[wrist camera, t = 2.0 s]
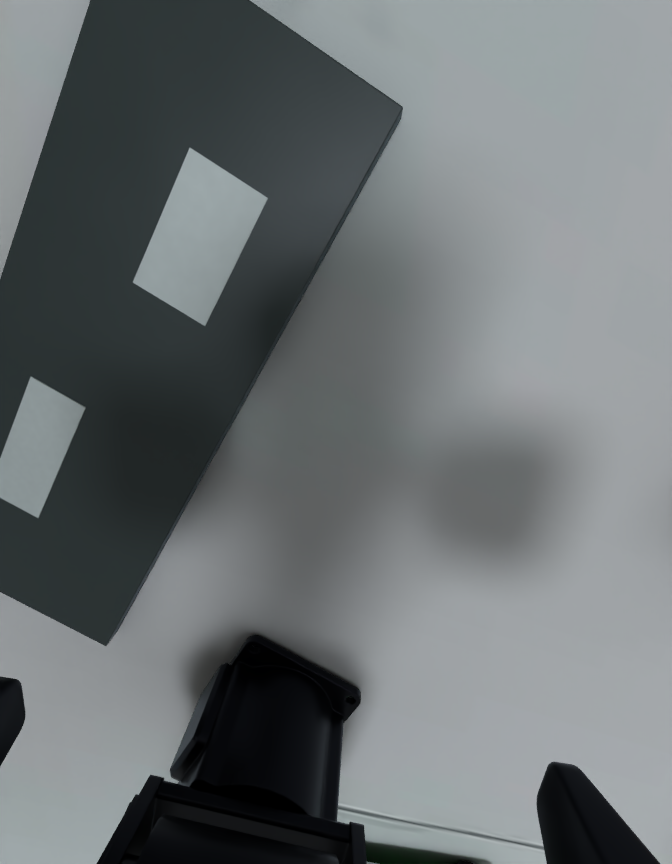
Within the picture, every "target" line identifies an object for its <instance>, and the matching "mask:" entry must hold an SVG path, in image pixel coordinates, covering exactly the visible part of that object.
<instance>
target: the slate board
mask: <svg viewBox="0 0 672 864" xmlns="http://www.w3.org/2000/svg"><path fill="white" fill-rule="evenodd" d="M402 110H403V107H402V106H401V105H399V104H398V103H396V102H395V101H394V100H392V99H391V98H389V97H388V96H386V95H385V94H383V93H382V92H381V91H379V90H378V89H376V88H375V87H373V86H372V85H370V84H369V83H368V82H366V81H365V80H363V79H362V78H360V77H359V76H358V75H356V74H355V73H353V72H352V71H350V70H349V69H347V68H346V67H345V66H343V65H342V64H340V63H339V62H337V61H336V60H334V59H333V58H332V57H330V56H329V55H327V54H326V53H324V52H323V51H322V50H320V49H319V48H317V47H316V46H314V45H313V44H311V43H310V42H309V41H307V40H306V39H304V38H303V37H301V36H300V35H299V34H297V33H296V32H294V31H293V30H291V29H290V28H288V27H287V26H286V25H284V24H283V23H281V22H280V21H278V20H277V19H275V18H274V17H273V16H271V15H270V14H268V13H267V12H265V11H264V10H263V9H261V8H260V7H258V6H257V5H255V4H254V3H252V2H251V1H250V0H90V4H89V7H88V10H87V13H86V16H85V19H84V22H83V25H82V28H81V31H80V34H79V38H78V41H77V44H76V47H75V50H74V53H73V56H72V59H71V62H70V65H69V68H68V72H67V75H66V78H65V81H64V84H63V87H62V90H61V93H60V96H59V99H58V102H57V106H56V109H55V112H54V115H53V118H52V121H51V124H50V127H49V130H48V133H47V136H46V139H45V143H44V146H43V149H42V152H41V155H40V158H39V161H38V164H37V167H36V170H35V173H34V177H33V180H32V183H31V186H30V189H29V192H28V195H27V198H26V201H25V204H24V207H23V211H22V214H21V217H20V220H19V223H18V226H17V229H16V232H15V235H14V238H13V241H12V245H11V248H10V251H9V254H8V257H7V260H6V263H5V266H4V269H3V272H2V275H1V279H0V592H2V593H4V594H5V595H7V596H9V597H11V598H13V599H15V600H17V601H19V602H21V603H23V604H25V605H27V606H29V607H31V608H33V609H35V610H37V611H39V612H41V613H42V614H44V615H46V616H48V617H50V618H52V619H54V620H56V621H58V622H60V623H62V624H64V625H66V626H68V627H70V628H72V629H74V630H76V631H78V632H79V633H81V634H83V635H85V636H87V637H89V638H91V639H93V640H95V641H97V642H99V643H101V644H103V645H105V646H107V645H108V643H109V642H110V640H111V639H112V638H113V636H114V635H115V634H116V632H117V630H118V629H119V627H120V625H121V623H122V621H123V620H124V618H125V616H126V614H127V612H128V611H129V609H130V607H131V605H132V603H133V602H134V600H135V598H136V596H137V594H138V593H139V591H140V589H141V587H142V585H143V583H144V582H145V580H146V578H147V576H148V574H149V573H150V571H151V569H152V567H153V565H154V564H155V562H156V560H157V558H158V556H159V555H160V553H161V551H162V549H163V547H164V546H165V544H166V542H167V540H168V538H169V537H170V535H171V533H172V531H173V529H174V528H175V526H176V524H177V522H178V520H179V518H180V517H181V515H182V513H183V511H184V509H185V508H186V506H187V504H188V502H189V500H190V499H191V497H192V495H193V493H194V491H195V490H196V488H197V486H198V484H199V482H200V481H201V479H202V477H203V475H204V473H205V472H206V470H207V468H208V466H209V464H210V462H211V461H212V459H213V457H214V455H215V453H216V452H217V450H218V448H219V446H220V444H221V443H222V441H223V439H224V437H225V435H226V434H227V432H228V430H229V428H230V426H231V425H232V423H233V421H234V419H235V417H236V416H237V414H238V412H239V410H240V408H241V407H242V405H243V403H244V401H245V399H246V397H247V396H248V394H249V392H250V390H251V388H252V387H253V385H254V383H255V381H256V379H257V378H258V376H259V374H260V372H261V370H262V369H263V367H264V365H265V363H266V361H267V360H268V358H269V356H270V354H271V352H272V351H273V349H274V347H275V345H276V343H277V341H278V340H279V338H280V336H281V334H282V332H283V331H284V329H285V327H286V325H287V323H288V322H289V320H290V318H291V316H292V314H293V313H294V311H295V309H296V307H297V305H298V304H299V302H300V300H301V298H302V296H303V295H304V293H305V291H306V289H307V287H308V285H309V284H310V282H311V280H312V278H313V276H314V275H315V273H316V271H317V269H318V267H319V266H320V264H321V262H322V260H323V258H324V257H325V255H326V253H327V251H328V249H329V248H330V246H331V244H332V242H333V240H334V239H335V237H336V235H337V233H338V231H339V230H340V228H341V226H342V224H343V222H344V220H345V219H346V217H347V215H348V213H349V211H350V210H351V208H352V206H353V204H354V202H355V201H356V199H357V197H358V195H359V193H360V192H361V190H362V188H363V186H364V184H365V183H366V181H367V179H368V177H369V175H370V174H371V172H372V170H373V168H374V166H375V164H376V163H377V161H378V159H379V157H380V155H381V154H382V152H383V150H384V148H385V146H386V145H387V143H388V141H389V139H390V137H391V136H392V134H393V132H394V130H395V128H396V127H397V125H398V123H399V121H400V119H401V115H402Z"/></svg>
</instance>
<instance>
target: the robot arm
mask: <svg viewBox="0 0 672 864" xmlns="http://www.w3.org/2000/svg"><path fill="white" fill-rule="evenodd" d="M253 645H255V646H258V647H254V646H253ZM350 697H352V698H350ZM360 700H361V692H360V691H359V689H357V688H356V687H354V686H352V685H351V684H349V683H347V682H345V681H343V680H341V679H339V678H338V677H336V676H334V675H332V674H330V673H328V672H326V671H324V670H323V669H321V668H319V667H317V666H315V665H313V664H311V663H310V662H308V661H306V660H304V659H302V658H300V657H298V656H296V655H295V654H293V653H291V652H289V651H287V650H285V649H283V648H282V647H280V646H278V645H276V644H274V643H272V642H270V641H268V640H267V639H265V638H263V637H261V636H258V635H253V636H250V637H249V638H248V639H247V640H246V642H245V643H244V645H243V646H242V648H241V649H240V650H239V652H238V653H237V655H236V656H235V658H234V659H233V661H232V662H231V663H230V664H228V663H225V664H222V665H221V666H220V667H219V669H218V670H217V672H216V673H215V675H214V676H213V678H212V679H211V681H210V682H209V683H208V685H207V686H206V688H205V689H204V691H203V692H202V694H201V696H200V698H199V700H198V703H197V705H196V708H195V710H194V712H193V715H192V717H191V720H190V722H189V725H188V727H187V729H186V732H185V734H184V737H183V739H182V741H181V744H180V746H179V749H178V751H177V753H176V756H175V758H174V761H173V763H172V766H171V768H170V773H171V777H172V778H174V779H176V780H178V781H179V783H178V784H175V783H171V782H167V781H164V778H162V777H158V776H154V775H150V776H149V778H148V780H147V781H146V783H145V785H144V787H143V789H142V790H141V792H140V794H139V795H135V797H134V799H133V800H132V802H131V803H130V804H129V806H128V808H127V810H126V812H125V814H124V816H123V818H122V820H121V822H120V823H119V825H118V827H117V829H116V830H115V832H114V834H113V836H112V838H111V839H110V841H109V843H108V845H107V846H106V848H105V850H104V852H103V853H102V855H101V857H100V859H99V861H98V862H97V864H367V860H366V847H365V834H364V825H362V824H358V823H353V822H350V823H349V824H345V823H341V822H337V812H338V797H339V782H340V767H341V751H342V736H343V723H344V722H345V721H346V720H347V719H348V717H349V716H350V715H351V714H352V713H353V712H354V710H355V709H356V708H357V707H358V706H359V704H360ZM24 720H25V706H24V699H23V692H22V686H21V683H20V681H19V680H17V679H12V678H6V677H0V766H1V764H2V762H3V760H4V759H5V757H6V755H7V753H8V752H9V750H10V748H11V746H12V745H13V743H14V741H15V740H16V738H17V736H18V734H19V733H20V731H21V729H22V726H23V724H24ZM537 813H538V818H539V824H540V829H541V834H542V840H543V845H544V850H545V856H546V861H547V864H660V863H659V862H658V861H657V859H656V858H655V857H654V856H653V855H652V853H651V852H650V851H649V850H648V849H647V848H646V846H645V845H644V844H643V843H642V842H641V840H640V839H639V838H638V837H637V836H636V835H635V833H634V832H633V831H632V830H631V829H630V827H629V826H628V825H627V824H626V823H625V822H624V820H623V819H622V818H621V817H620V816H619V814H618V813H617V812H616V811H615V810H614V808H613V807H612V806H611V805H610V804H609V803H608V801H607V800H606V799H605V798H604V797H603V795H602V794H601V793H600V792H599V791H598V790H597V788H596V787H595V786H594V785H593V784H592V782H591V781H590V780H589V779H588V778H587V777H586V775H585V774H584V773H583V772H582V771H581V770H580V769H579V768H578V767H576V766H575V765H572V764H565V763H559V762H552V763H550V764H549V765H548V767H547V770H546V772H545V775H544V778H543V780H542V783H541V786H540V789H539V791H538V795H537Z"/></svg>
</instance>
